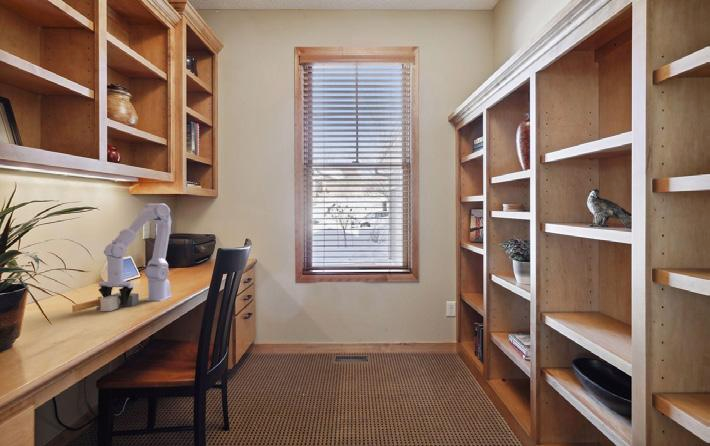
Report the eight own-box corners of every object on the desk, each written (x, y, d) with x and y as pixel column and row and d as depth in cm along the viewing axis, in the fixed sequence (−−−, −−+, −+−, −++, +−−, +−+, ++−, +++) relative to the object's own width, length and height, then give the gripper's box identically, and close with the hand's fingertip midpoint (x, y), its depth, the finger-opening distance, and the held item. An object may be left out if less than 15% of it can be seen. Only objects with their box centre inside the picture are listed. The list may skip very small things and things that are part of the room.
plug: (113, 306, 166) (112, 294, 166) (122, 306, 166) (122, 294, 166) (100, 310, 159) (99, 298, 159) (110, 311, 159) (109, 298, 159)
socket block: (116, 303, 173) (115, 292, 173) (138, 304, 172) (138, 293, 171) (96, 309, 162) (96, 298, 162) (120, 310, 161) (120, 299, 160)
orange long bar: (100, 305, 164) (99, 296, 164) (102, 305, 163) (102, 296, 163) (72, 313, 152) (71, 303, 152) (74, 313, 152) (74, 303, 151)
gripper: (92, 273, 162) (93, 306, 162) (124, 274, 160) (125, 307, 160) (105, 270, 169) (106, 302, 169) (136, 271, 167) (137, 303, 167)
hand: (116, 304), depth 165 cm, fingers open, 7 cm apart
